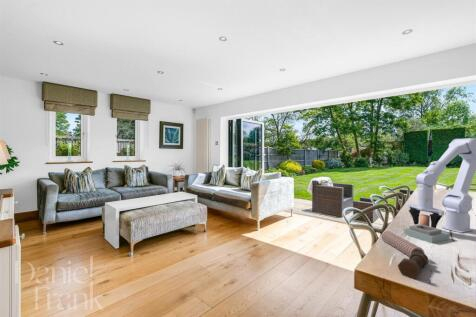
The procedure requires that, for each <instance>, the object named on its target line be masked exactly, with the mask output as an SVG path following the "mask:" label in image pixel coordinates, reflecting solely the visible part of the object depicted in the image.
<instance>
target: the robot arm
mask: <svg viewBox="0 0 476 317" xmlns="http://www.w3.org/2000/svg"><path fill="white" fill-rule="evenodd" d="M457 156H459V157H461V159H462V162H461V164H460V167H459V171H458V173H457V176H456V178H455V182H454V184H453V188H452V189H451V190H448V191H447V192H446V193H445V195H444V196H443V197H442V199H441V205H442V206H443V208H444V210H442V209H438V208H434V186H435V185H437V183H438V179H439V177H440V176H441V175H442V173H444V172H445V171H446V169H447V166H446V165H448V164H449V163H450V162H451V161H452V160H453V159H454V158H456V157H457ZM475 173H476V137H472V138H469V137H468V138H467V137H466V138H454V139H453V140H452V141H451V142H450V143H449V144H448V148H447V149H446V150H445V152H443V154H442V155H441V156H440V158H439V159H438V160H434V161H431V162H430V163H429V165H428V167H426V169H424V170H423V171H422V172H421V173H418V174H417V175H416V177H415V178H414V181H415V183H416V186H417V204H412V203H408V204H407V209H408V212H409V213H410V216H411V218H412V220H413V225H419V224H420V215H421V214H420V213H421V211H422V212H425V213H430V214H429V216H430V227H433V228H437V226H438V223H439V222H440V220H441V218H442V217H443V216H445V225H443V226H440V227H441V228H442V229H445V230H449V231H453V232H457V233H461V234H463V233H466V232H471V231H473V229H472V228H471V216H470V214H469V212H470V211H471V210H472V207H473V203H472V202H473V197H472V196H471V195H470V194H469V191H470V188H471V186H472V182H473V180H474V176H475Z"/></svg>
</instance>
